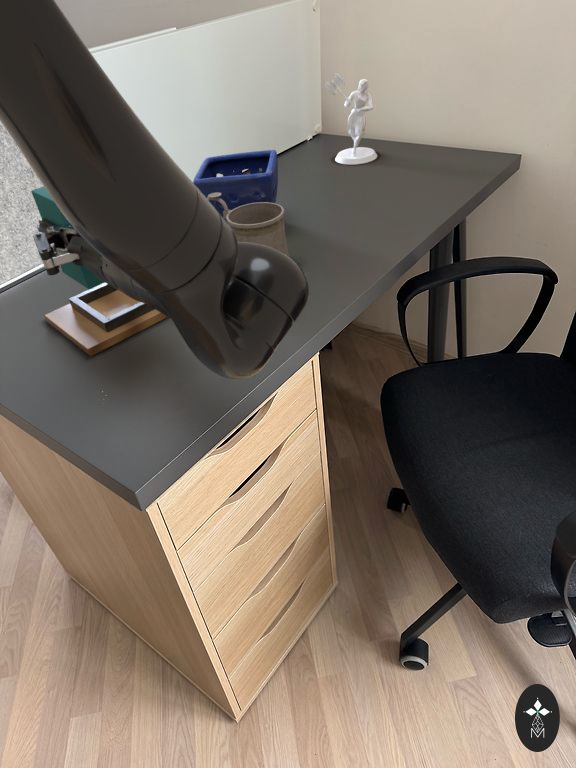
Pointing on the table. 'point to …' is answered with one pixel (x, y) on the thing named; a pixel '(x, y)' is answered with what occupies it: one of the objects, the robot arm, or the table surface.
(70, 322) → the cork base pad
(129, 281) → the robot arm
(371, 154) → the figurine
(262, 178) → the flower pot
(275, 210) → the mug
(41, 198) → the foam pad
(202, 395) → the table surface
